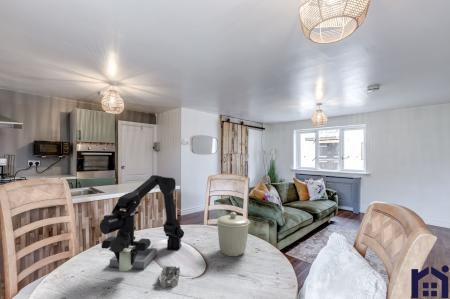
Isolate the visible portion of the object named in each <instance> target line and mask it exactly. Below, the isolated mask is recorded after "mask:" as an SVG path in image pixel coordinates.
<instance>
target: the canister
mask: <svg viewBox="0 0 450 299" xmlns="http://www.w3.org/2000/svg"><path fill="white" fill-rule="evenodd" d="M215 222H216V225H217V237H218V245H219V249H220V250H219V251H220V252H221V253H222V254H224V255H225V256H228V257H238V256H241V255H242V254H244V253H245V251H246V248H247V242H248V233H249V225H250V224H251V221H250V220H249V219H248V218H247V217H245V216H243V215H237V213H236V212H235V211H231V212H230V213H229V214H226V215H222V216H220V217H218V218H217V219H216V220H215Z"/></svg>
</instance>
